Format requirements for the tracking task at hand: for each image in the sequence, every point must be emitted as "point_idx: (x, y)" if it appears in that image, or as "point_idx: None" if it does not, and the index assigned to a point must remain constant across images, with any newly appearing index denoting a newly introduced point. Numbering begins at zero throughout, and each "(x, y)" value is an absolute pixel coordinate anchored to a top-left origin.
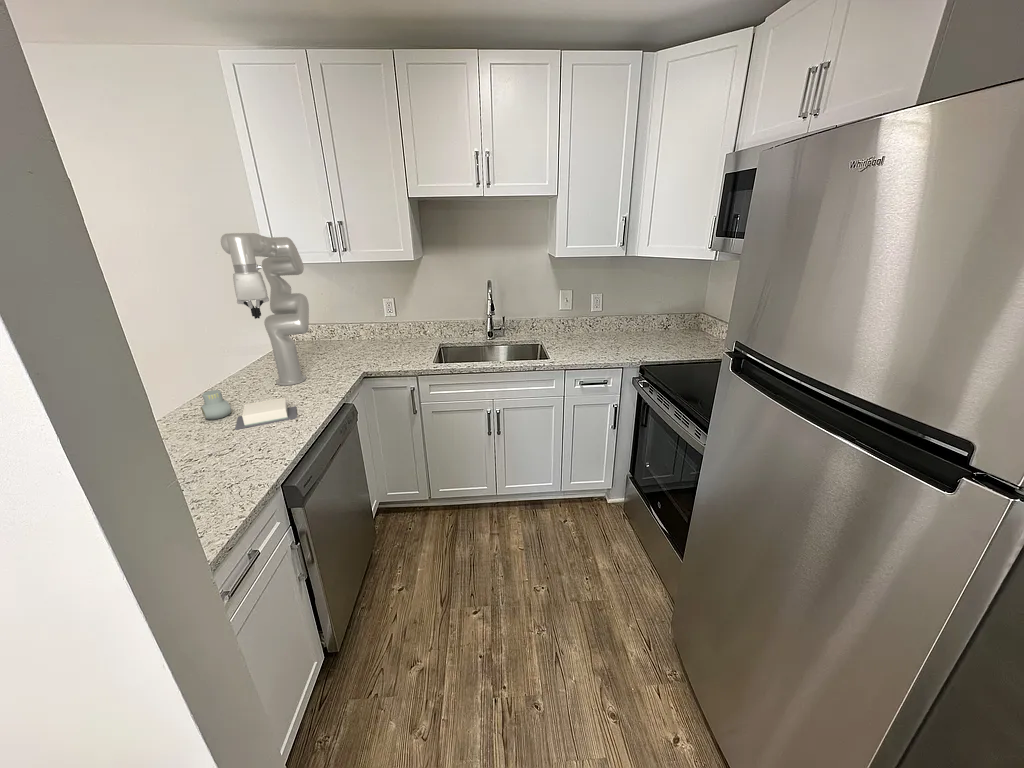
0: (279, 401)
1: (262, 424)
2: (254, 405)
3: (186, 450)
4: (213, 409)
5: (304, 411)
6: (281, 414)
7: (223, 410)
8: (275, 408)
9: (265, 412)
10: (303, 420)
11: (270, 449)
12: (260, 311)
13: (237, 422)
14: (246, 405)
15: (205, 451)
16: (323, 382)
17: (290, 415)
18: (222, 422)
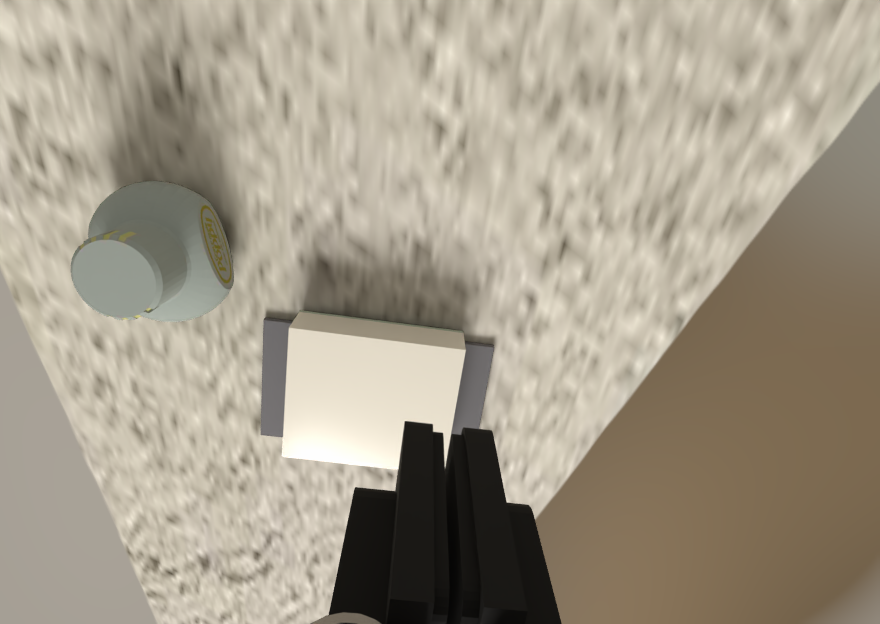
0: (433, 385)
1: None
2: (329, 370)
3: (126, 497)
4: (156, 317)
5: (512, 404)
6: None
7: (200, 315)
8: None
9: (368, 464)
10: None
11: None
12: (542, 557)
13: (265, 382)
14: (296, 349)
15: (186, 534)
16: (715, 43)
17: (455, 431)
18: (207, 327)
